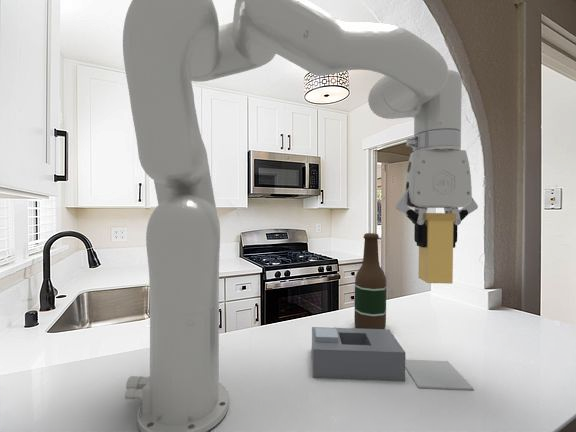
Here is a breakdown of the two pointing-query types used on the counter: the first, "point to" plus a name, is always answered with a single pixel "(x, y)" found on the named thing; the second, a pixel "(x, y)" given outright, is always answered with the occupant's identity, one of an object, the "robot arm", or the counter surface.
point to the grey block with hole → (357, 354)
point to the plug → (437, 249)
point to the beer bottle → (370, 288)
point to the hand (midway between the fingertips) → (435, 245)
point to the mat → (436, 375)
